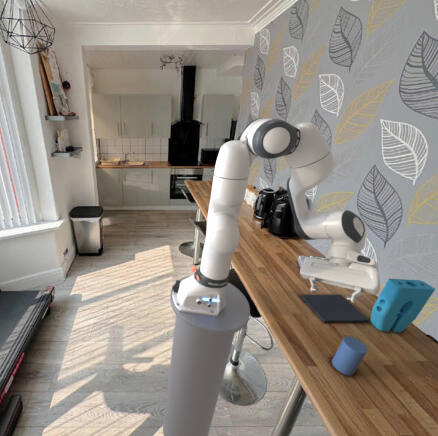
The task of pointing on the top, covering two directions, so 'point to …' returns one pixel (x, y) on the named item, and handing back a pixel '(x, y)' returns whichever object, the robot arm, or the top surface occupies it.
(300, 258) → the stone block
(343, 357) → the cylinder block
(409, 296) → the block
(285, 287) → the top surface
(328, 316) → the mat
